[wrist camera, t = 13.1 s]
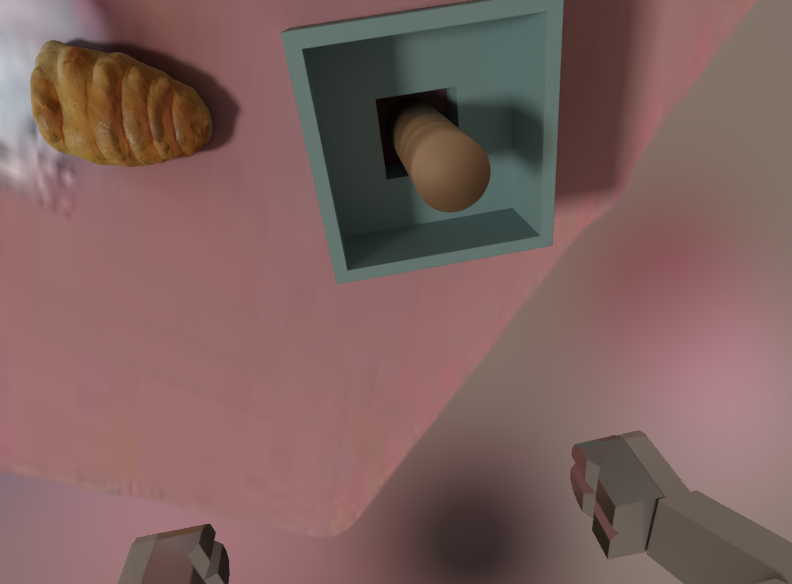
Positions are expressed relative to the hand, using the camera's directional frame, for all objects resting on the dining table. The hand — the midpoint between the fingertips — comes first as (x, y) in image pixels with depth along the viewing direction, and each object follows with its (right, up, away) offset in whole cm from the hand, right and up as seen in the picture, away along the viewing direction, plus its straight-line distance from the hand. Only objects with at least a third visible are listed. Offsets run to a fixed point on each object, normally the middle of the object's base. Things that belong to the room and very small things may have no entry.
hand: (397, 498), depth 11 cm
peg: (+1, +16, +22) cm, 27 cm away
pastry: (-17, +17, +20) cm, 31 cm away
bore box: (+1, +16, +22) cm, 27 cm away
